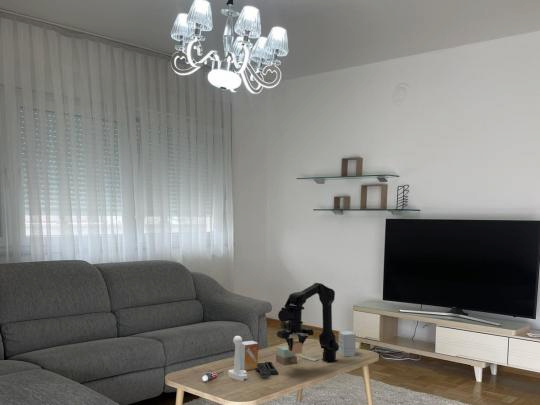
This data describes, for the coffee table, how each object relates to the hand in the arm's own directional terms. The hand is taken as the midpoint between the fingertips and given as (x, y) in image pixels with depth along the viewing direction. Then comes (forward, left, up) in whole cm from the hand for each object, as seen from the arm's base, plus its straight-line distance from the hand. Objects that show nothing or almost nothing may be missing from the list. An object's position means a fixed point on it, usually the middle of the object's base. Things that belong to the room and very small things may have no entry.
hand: (295, 350), depth 250 cm
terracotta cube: (0, 0, -1) cm, 1 cm away
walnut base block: (-5, -16, -11) cm, 20 cm away
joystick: (+28, -6, -11) cm, 31 cm away
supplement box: (-44, -13, -11) cm, 47 cm away
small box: (+18, -16, -11) cm, 26 cm away
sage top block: (-5, -16, -7) cm, 18 cm away
